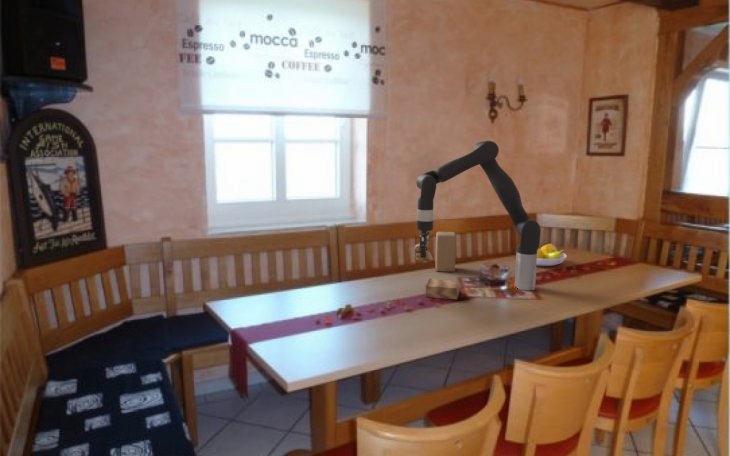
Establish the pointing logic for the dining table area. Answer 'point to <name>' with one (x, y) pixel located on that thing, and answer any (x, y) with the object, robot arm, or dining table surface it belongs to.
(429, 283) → the oak step
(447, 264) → the wooden block
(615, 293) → the dining table surface
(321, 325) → the dining table surface
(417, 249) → the chocolate bunny
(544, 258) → the fruit bowl
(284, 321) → the dining table surface
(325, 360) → the dining table surface
